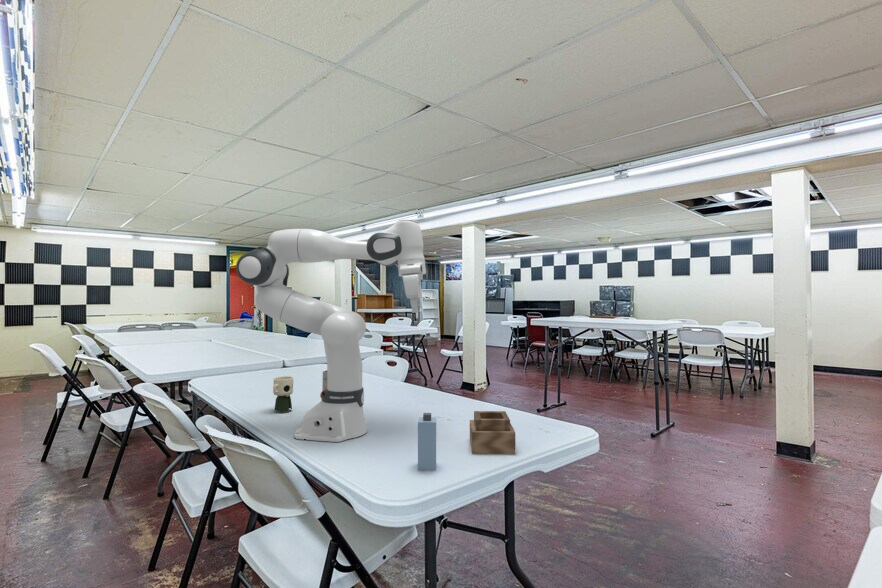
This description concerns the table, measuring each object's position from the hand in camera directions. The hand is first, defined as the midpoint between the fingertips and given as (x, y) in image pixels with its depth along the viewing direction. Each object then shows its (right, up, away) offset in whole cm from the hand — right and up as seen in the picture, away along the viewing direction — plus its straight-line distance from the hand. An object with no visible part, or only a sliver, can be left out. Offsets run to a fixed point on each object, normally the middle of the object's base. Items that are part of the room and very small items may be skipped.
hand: (416, 312), depth 133 cm
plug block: (+5, -38, -28) cm, 48 cm away
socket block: (+23, -39, -13) cm, 47 cm away
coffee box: (-33, -40, +25) cm, 57 cm away
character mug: (-53, -40, +25) cm, 71 cm away
